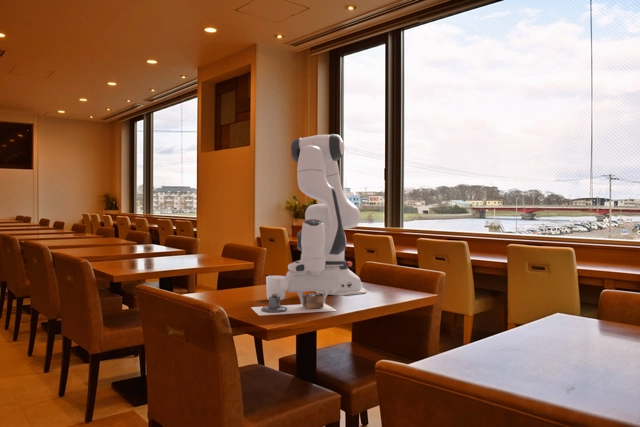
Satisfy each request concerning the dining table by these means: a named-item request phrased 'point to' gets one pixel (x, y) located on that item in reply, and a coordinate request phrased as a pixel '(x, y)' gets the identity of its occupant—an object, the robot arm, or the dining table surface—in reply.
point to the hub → (274, 305)
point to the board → (294, 309)
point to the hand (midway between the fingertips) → (312, 303)
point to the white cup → (275, 286)
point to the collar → (313, 301)
